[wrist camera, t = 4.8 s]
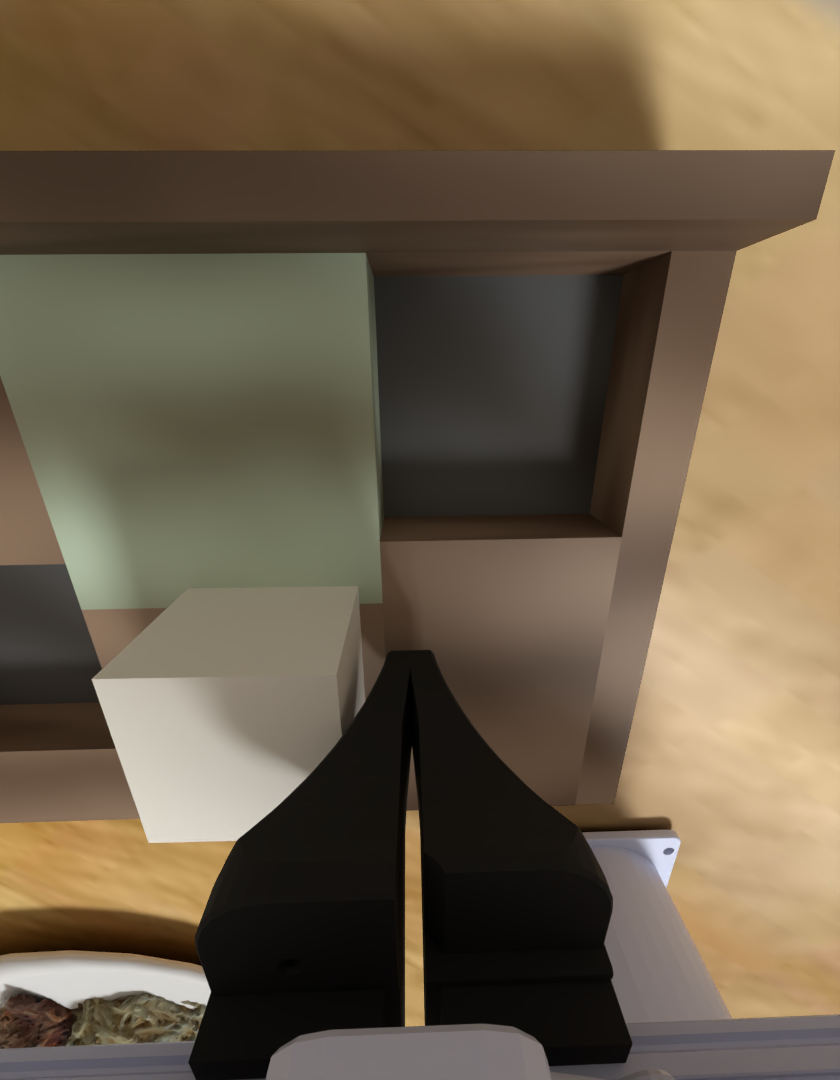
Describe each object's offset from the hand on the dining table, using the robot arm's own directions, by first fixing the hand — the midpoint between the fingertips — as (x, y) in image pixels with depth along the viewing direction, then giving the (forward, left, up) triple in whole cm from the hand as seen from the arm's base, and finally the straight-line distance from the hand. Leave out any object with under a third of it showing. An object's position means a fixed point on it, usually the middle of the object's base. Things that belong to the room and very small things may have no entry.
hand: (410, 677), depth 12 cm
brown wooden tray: (+2, +6, -3) cm, 7 cm away
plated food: (-33, +18, -4) cm, 38 cm away
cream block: (0, +4, -1) cm, 4 cm away
